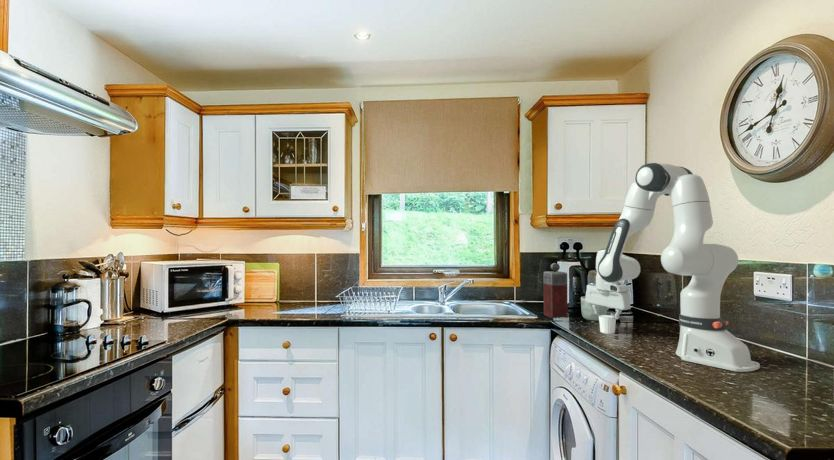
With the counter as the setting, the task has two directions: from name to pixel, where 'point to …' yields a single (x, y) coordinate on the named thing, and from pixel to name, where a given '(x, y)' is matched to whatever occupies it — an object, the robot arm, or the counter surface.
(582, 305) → the planter
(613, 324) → the shot glass
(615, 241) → the robot arm
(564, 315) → the red decanter
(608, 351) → the counter surface
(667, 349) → the counter surface
